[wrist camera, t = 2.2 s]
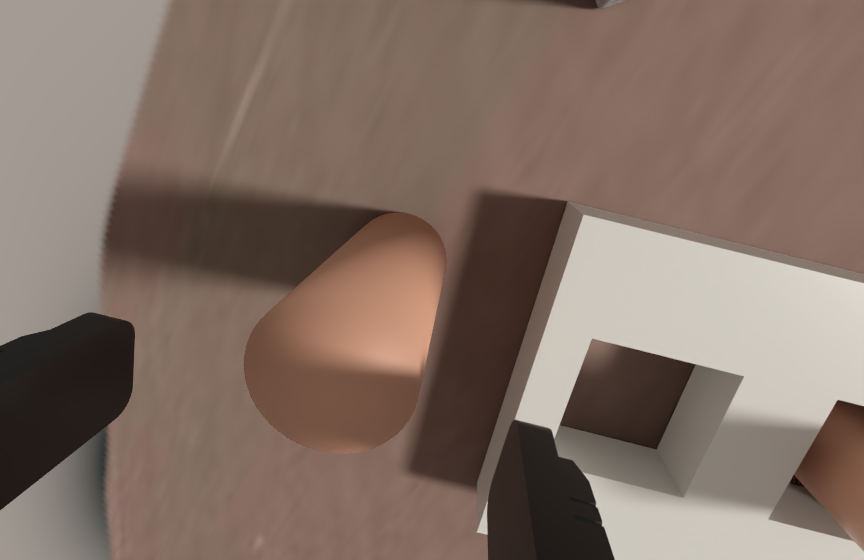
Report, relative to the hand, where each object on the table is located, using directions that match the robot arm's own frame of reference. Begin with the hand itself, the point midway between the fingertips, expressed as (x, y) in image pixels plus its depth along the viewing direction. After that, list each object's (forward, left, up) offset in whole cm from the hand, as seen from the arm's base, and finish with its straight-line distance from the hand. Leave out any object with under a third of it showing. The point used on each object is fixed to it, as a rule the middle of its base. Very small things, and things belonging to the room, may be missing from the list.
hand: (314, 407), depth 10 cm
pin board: (+3, +15, -11) cm, 19 cm away
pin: (0, 0, -11) cm, 11 cm away
